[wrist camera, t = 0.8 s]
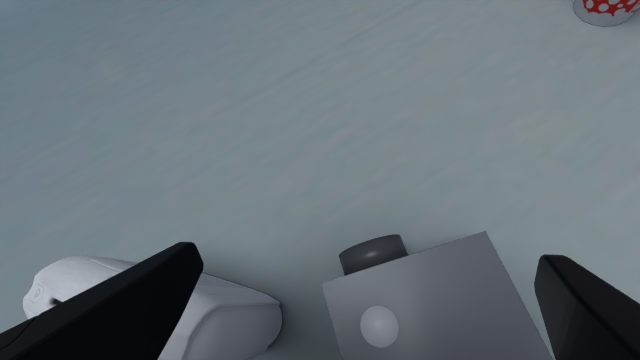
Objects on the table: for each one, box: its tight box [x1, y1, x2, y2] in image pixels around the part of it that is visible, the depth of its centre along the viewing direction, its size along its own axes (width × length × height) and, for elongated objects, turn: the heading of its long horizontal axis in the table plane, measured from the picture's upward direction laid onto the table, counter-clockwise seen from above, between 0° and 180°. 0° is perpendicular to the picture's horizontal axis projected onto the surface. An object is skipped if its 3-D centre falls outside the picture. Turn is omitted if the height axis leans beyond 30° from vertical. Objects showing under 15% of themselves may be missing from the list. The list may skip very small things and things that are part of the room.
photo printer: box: [23, 256, 282, 360], centre depth 18 cm, size 10×4×12 cm, turn 75°
